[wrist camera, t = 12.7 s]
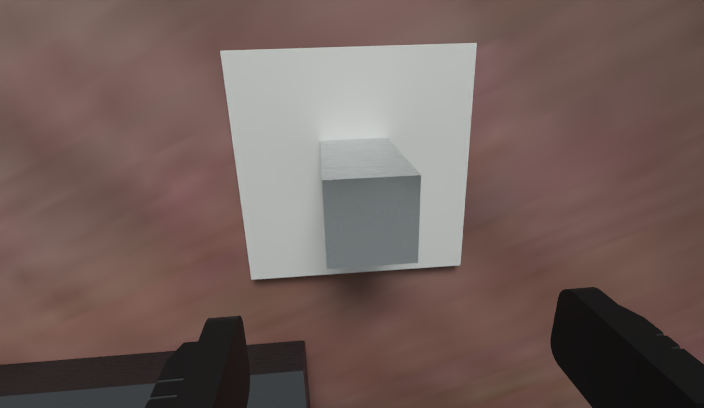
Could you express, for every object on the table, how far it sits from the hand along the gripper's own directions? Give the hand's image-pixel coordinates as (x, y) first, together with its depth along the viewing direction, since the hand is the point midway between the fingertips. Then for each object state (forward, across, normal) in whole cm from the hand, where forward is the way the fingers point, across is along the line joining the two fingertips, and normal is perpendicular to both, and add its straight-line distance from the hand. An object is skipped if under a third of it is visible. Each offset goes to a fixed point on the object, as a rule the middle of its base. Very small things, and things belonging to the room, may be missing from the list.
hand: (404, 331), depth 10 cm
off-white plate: (+16, 0, 0) cm, 16 cm away
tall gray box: (+15, 0, 0) cm, 15 cm away
